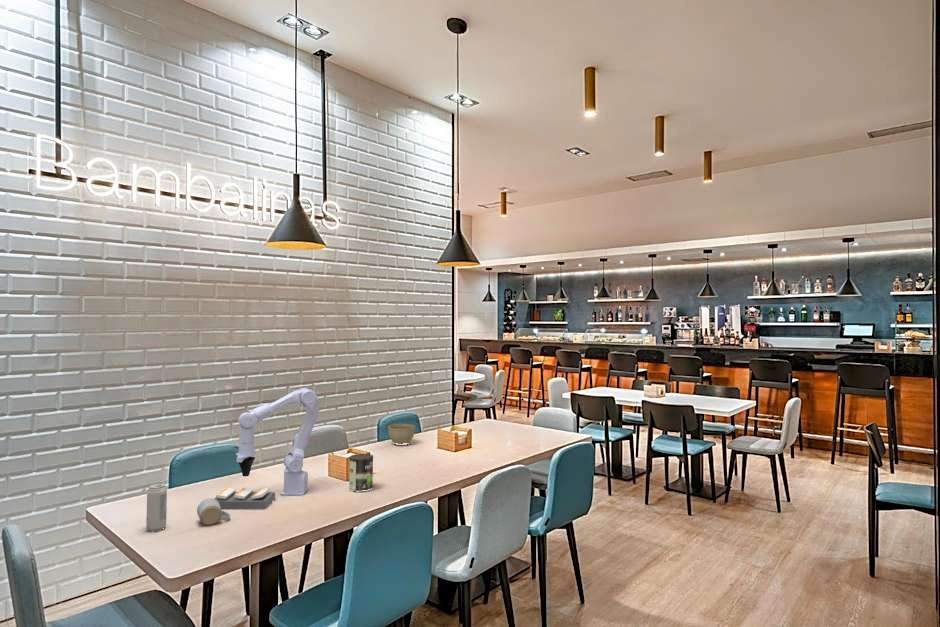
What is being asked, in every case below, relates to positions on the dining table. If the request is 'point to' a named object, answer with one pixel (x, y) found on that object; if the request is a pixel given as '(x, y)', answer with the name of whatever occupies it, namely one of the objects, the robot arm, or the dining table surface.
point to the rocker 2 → (260, 493)
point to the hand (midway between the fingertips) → (245, 475)
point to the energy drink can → (156, 507)
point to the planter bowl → (401, 433)
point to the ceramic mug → (211, 512)
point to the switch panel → (246, 501)
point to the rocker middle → (243, 493)
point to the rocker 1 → (225, 493)
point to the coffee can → (361, 472)
